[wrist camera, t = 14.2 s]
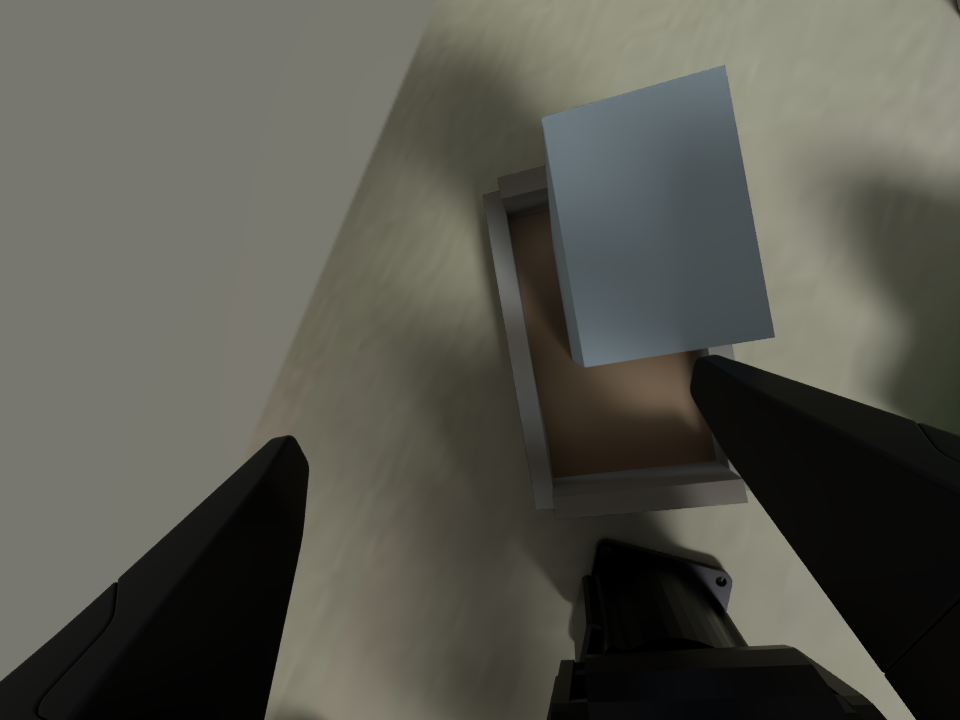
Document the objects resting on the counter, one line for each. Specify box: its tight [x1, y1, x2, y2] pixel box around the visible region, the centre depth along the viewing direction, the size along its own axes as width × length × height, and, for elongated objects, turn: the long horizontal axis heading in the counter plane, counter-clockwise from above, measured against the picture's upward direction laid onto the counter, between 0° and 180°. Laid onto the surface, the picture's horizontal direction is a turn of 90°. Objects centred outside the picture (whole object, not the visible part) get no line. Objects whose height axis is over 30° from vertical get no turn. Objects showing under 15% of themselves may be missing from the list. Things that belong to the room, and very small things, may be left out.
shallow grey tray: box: [483, 165, 750, 520], centre depth 20 cm, size 16×10×4 cm, turn 10°
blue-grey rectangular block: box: [541, 65, 775, 367], centre depth 15 cm, size 6×4×12 cm, turn 10°
